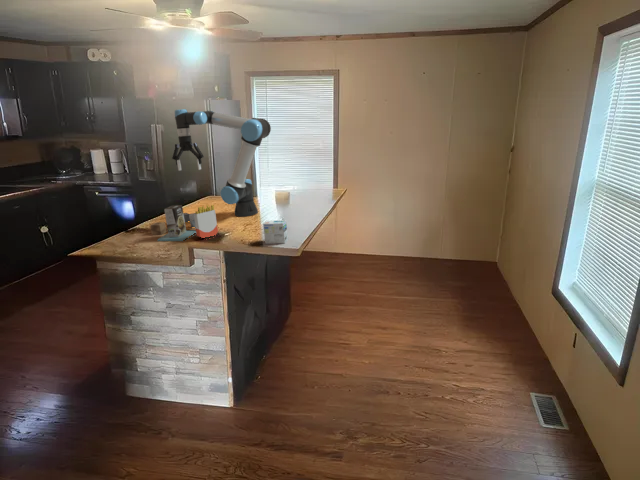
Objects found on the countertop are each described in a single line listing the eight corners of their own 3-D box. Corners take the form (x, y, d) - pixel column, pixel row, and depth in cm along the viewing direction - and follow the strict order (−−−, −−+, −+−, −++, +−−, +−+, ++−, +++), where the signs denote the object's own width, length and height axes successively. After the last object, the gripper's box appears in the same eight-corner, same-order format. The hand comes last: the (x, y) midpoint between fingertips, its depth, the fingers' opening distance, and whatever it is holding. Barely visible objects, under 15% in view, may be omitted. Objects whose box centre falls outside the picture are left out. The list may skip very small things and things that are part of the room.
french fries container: (196, 239, 238) (191, 207, 233) (214, 234, 245) (209, 203, 240) (201, 240, 235) (195, 208, 229) (218, 235, 242) (214, 204, 236)
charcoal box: (191, 221, 278) (189, 214, 277) (179, 224, 274) (177, 216, 272) (187, 220, 283) (186, 212, 281) (175, 222, 278) (174, 215, 277)
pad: (197, 232, 251) (197, 230, 251) (184, 241, 236) (183, 239, 236) (172, 232, 255) (172, 230, 254) (157, 241, 240) (157, 239, 239)
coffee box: (179, 237, 240) (174, 208, 235) (168, 237, 242) (163, 208, 237) (187, 232, 249) (182, 204, 244) (176, 232, 250) (172, 205, 245)
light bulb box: (288, 239, 226) (286, 219, 223) (285, 243, 220) (283, 223, 216) (268, 240, 228) (266, 220, 224) (264, 244, 221) (262, 223, 218)
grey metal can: (203, 225, 266) (201, 212, 264) (198, 228, 261) (196, 215, 258) (194, 225, 267) (191, 213, 265) (189, 228, 262) (187, 215, 259)
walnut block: (166, 232, 258) (164, 222, 256) (161, 235, 252) (159, 225, 250) (157, 232, 259) (155, 222, 257) (152, 235, 253) (150, 225, 251)
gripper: (162, 137, 268) (168, 171, 274) (200, 134, 263) (205, 170, 269) (169, 136, 275) (174, 169, 281) (205, 133, 270) (210, 168, 276)
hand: (189, 170), depth 275 cm, fingers open, 13 cm apart
